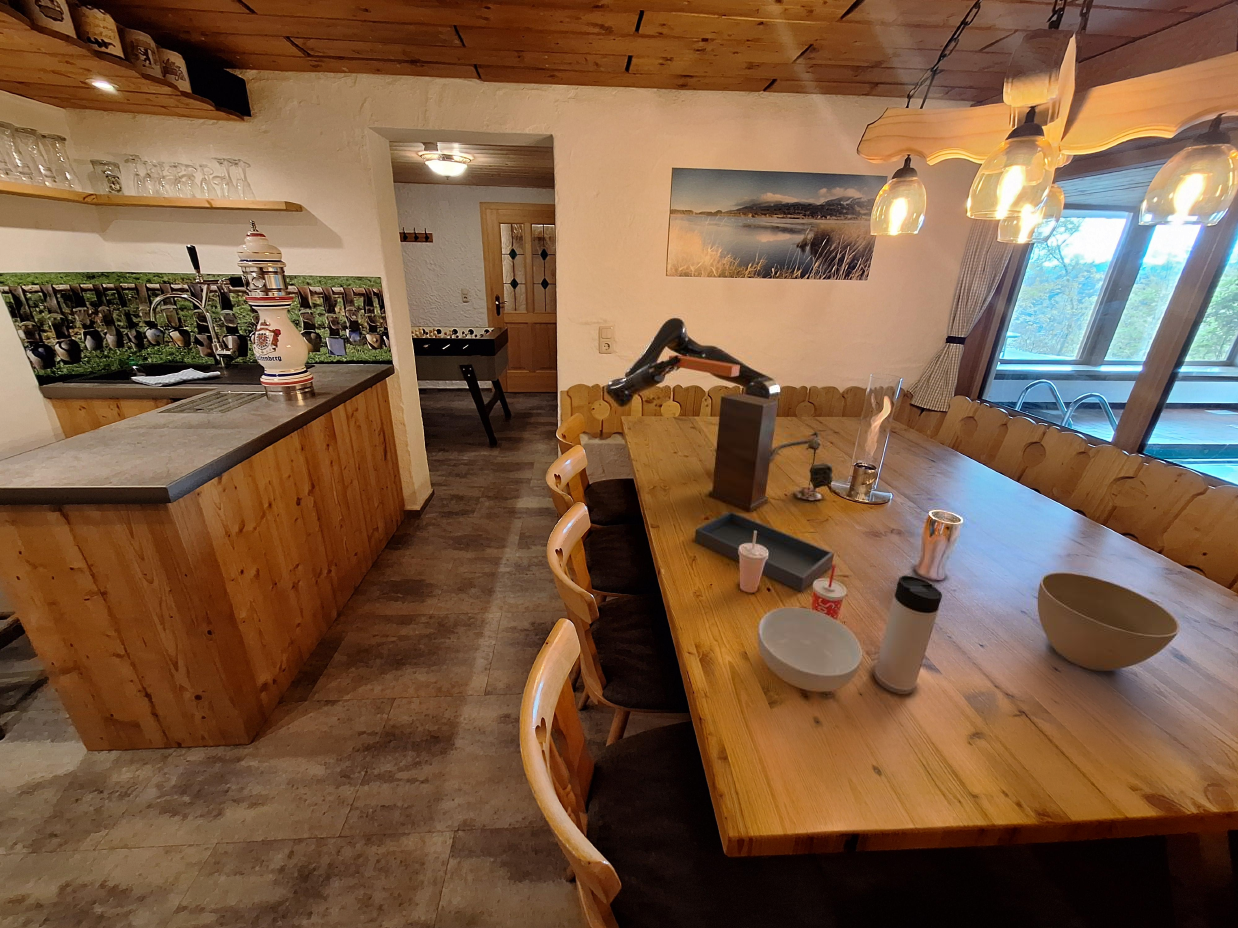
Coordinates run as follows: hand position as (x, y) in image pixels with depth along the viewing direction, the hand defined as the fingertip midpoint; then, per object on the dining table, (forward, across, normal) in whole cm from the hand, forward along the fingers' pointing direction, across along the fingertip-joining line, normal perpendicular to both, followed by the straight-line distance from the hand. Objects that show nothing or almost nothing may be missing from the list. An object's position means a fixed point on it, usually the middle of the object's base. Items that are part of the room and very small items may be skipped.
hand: (683, 357), depth 155 cm
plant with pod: (+14, +19, +55) cm, 60 cm away
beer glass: (+48, -1, +75) cm, 89 cm away
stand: (+2, 0, +48) cm, 48 cm away
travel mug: (+54, -43, +78) cm, 104 cm away
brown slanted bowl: (+73, -10, +89) cm, 115 cm away
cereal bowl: (+43, -52, +72) cm, 99 cm away
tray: (+21, -23, +59) cm, 66 cm away
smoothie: (+26, -38, +62) cm, 77 cm away
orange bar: (+5, 0, +6) cm, 8 cm away
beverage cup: (+41, -38, +70) cm, 90 cm away
